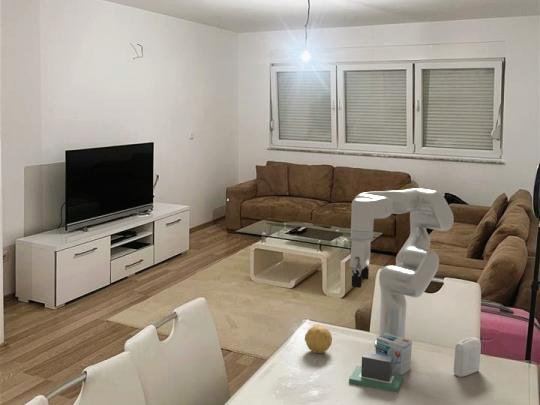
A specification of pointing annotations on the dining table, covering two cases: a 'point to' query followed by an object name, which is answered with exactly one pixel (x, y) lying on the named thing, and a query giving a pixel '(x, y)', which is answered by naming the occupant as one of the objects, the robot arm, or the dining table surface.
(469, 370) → the white upright block
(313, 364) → the dining table surface
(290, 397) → the dining table surface
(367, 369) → the gray rectangular block
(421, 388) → the dining table surface
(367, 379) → the board
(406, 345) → the light bulb box
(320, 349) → the stress ball
